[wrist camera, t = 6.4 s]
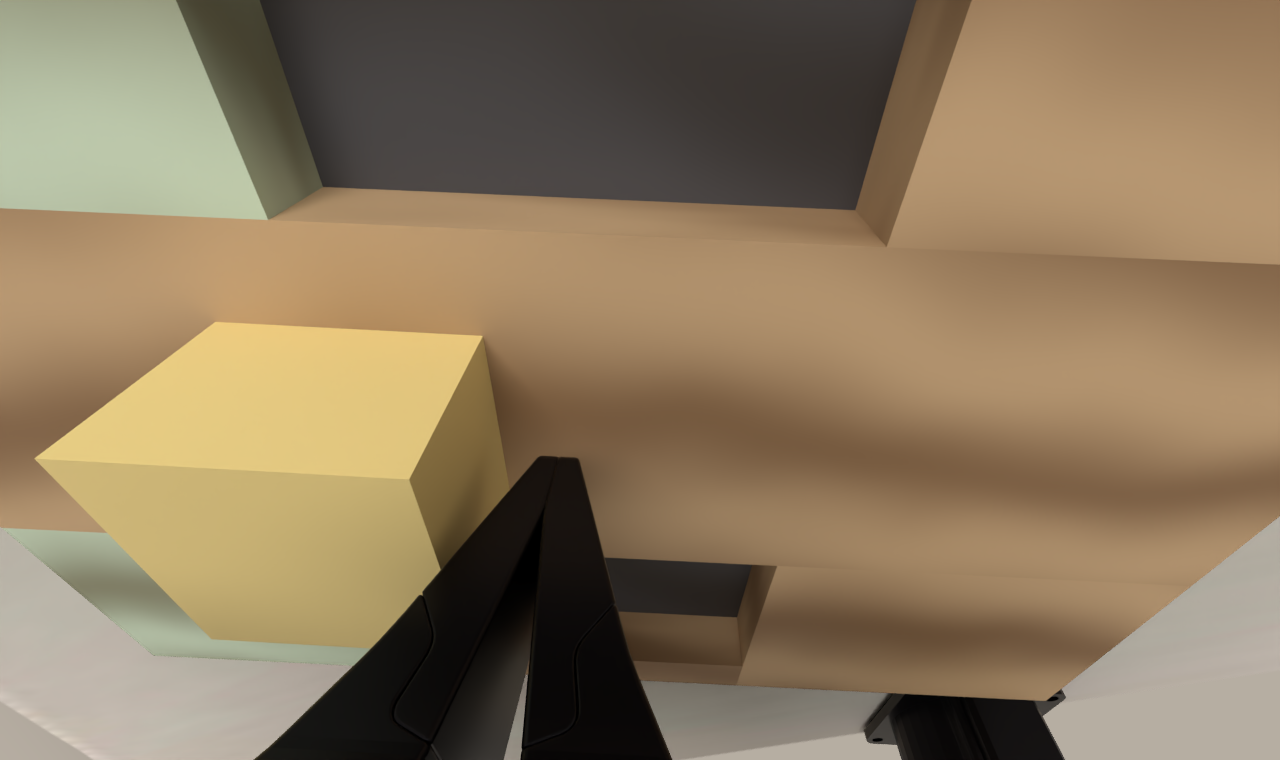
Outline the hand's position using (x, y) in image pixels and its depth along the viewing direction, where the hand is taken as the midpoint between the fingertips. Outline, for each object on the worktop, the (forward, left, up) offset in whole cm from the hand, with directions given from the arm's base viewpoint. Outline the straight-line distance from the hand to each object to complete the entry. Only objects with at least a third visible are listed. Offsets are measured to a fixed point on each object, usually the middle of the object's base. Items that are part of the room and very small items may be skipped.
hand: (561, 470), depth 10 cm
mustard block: (0, +4, -1) cm, 4 cm away
